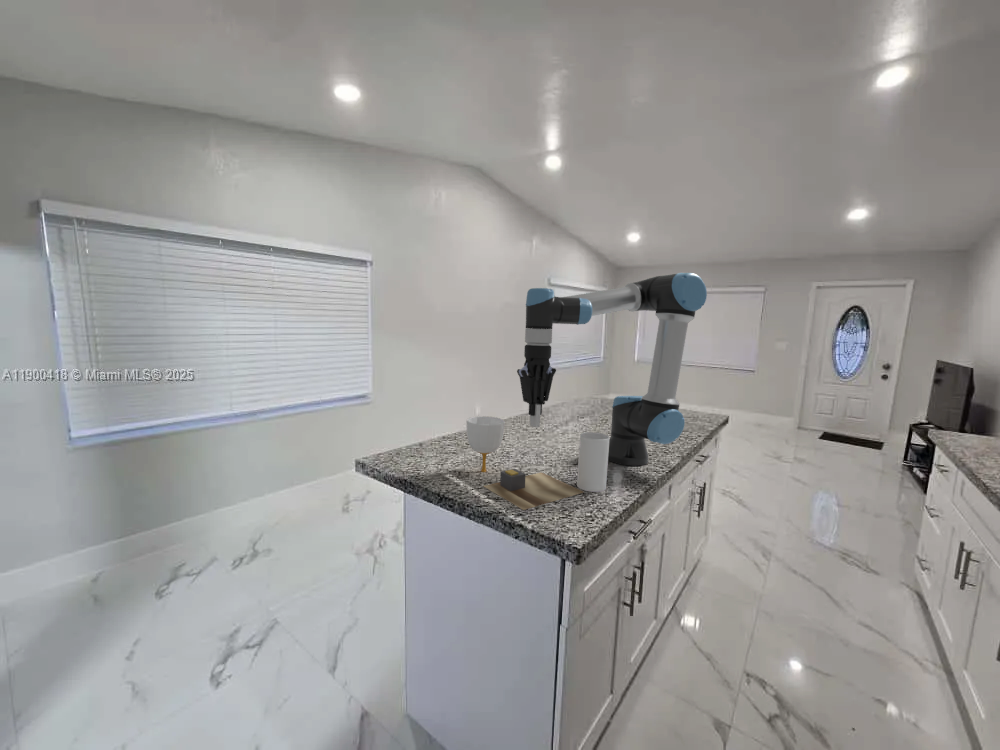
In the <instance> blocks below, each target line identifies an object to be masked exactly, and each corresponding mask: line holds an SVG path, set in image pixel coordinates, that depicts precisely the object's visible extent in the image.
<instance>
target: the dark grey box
mask: <svg viewBox="0 0 1000 750" xmlns="http://www.w3.org/2000/svg"><path fill="white" fill-rule="evenodd" d="M525 476H527V475H526V473H524V472H523V471H520V470H518V469H516V468H512V469H506V470H502V471H500V481H499V482H500V485H501V486H502V487H504V488H506V489H508V490H509V491H514V490H518V489H522V488H525Z"/></svg>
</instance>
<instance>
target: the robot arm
mask: <svg viewBox="0 0 1000 750" xmlns="http://www.w3.org/2000/svg"><path fill="white" fill-rule="evenodd" d="M707 291H708V290H707V287H706V283H705V282H704V281H703V279H702V278H701V276H699V275H698V274H696V273H693V272H678V273H673V274H665V275H656V276H653V277H649V278H647V279H643V280H639V281H636V282H630V283H627V284H626V285H625V286H624V287H617V288H612V289H606V290H599V291H593V292H586V293H580V294H579V293H578V294H574V295H568V296H563V297H561V296H560V297H559V296H555V290H554V289H552V288H549V287H548V288H546V287H534V288H530V289H528V290H527V293H526V298H525V299H526V300H525V301H526V302H525V333H524V334H525V335H524V342H525V343H526V344H524V352H523V353H524V354H523V355H524V359H525V361H524V363H523V364H524V365H523V367H521V368H520V369H517V370H516V372H517V375H518V377H519V381H520V386H521V387H520V388H521V395H522V400H523V401H522V402H525V403H527V404H528V415H529V426H530V427H533V428H540V427H541V415H542V413H543V405H546V402H548V401H549V397H550V392H551V388H552V383H553V378H554V376H555V374H556V372H557V369H556V368H554V367H553V366H552V365H551V363H550V359H551V358H552V346H551V345H550V344H552V339H553V325H554V324H558V325H559V324H560V325H575V326H576V325H586V324H588V323H589V322H590V321H591V319H592V317H593V316H599V315H604V314H611V313H617V312H622V311H626V310H627V311H628V312H633V313H634V312H637V311H638V312H639V311H649V312H650V311H651V312H655V316H656V318H657V319H658V328H657V332H656V339H655V346H654V350H653V357H652V364H651V369H650V376H649V382H648V387H647V388H648V389H647V393H646V394H644V395H617V396H615V397H614V399H613V402H612V407H611V408H612V411H611V412H612V413H611V427H610V429H611V430H610V431H611V432H610V436H609V438H610V439H609V453H608V462H612V463H614V464H617V465H623V466H644V465H647V464H648V463H649V453H648V449H647V445H646V439H647V440H649V441H650V442H653V443H658V444H661V445H669V444H671V443H674V442H675V441H676V439H678V438H679V437H680V436H681V435H682V433H683V431H684V429H685V425H686V424H685V423H686V422H685V417H684V416H683V415H684V414H683V413H682V412H680V410H679V408H680V402H679V401H678V399H677V391H678V384H679V379H680V373H681V366H682V361H683V355H684V351H685V350H684V349H685V344H686V339H687V338H686V337H687V331H688V325H689V323H690V322H691V321H693V320H694V319H695V316H696V311H698V310H700V309H701V308H702V307H703V306H704V305H705V303H706V301H707V296H708V294H707V293H708V292H707Z"/></svg>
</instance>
